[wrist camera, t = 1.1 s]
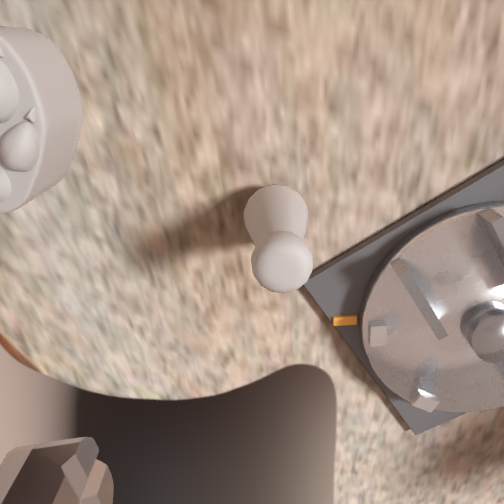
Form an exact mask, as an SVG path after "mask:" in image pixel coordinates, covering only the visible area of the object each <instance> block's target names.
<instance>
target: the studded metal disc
mask: <svg viewBox="0 0 504 504" xmlns="http://www.w3.org/2000/svg"><path fill="white" fill-rule="evenodd" d="M360 334H361V338H362V343H363V346H364V348H365V351H366V354H367V356H368V359H369V361H370V364H371V366H372V368H373V370H374V371H375V373H376V374H377V376H378V377H379V378H380V380H381V381H382V382H383V383H384V384H385V385H386V386H387V387H388V388H389V389H390V390H392V391H393V392H394V393H395V394H397V395H399V396H400V397H402V398H403V399H405V400H407V401H409V402H411V404H412V406H415V407H417V408H420V409H422V410H425V411H428V412H430V413H431V412H432V411H433V410H439V411H446V412H476V411H485V410H490V409H495V408H500V407H503V406H504V201H493V202H486V203H479V204H474V205H470V206H467V207H463V208H459V209H456V210H454V211H451V212H448V213H446V214H443V215H441V216H439V217H437V218H435V219H433V220H431V221H429V222H427V223H426V224H424V225H423V226H421V227H419V228H418V229H416V230H415V231H413V232H412V233H411V234H409V235H408V236H407V237H406V238H404V239H403V240H402V241H401V242H400V243H398V244H397V245H396V246H395V248H394V249H393V250H392V251H391V252H390V253H389V254H388V255H387V256H386V257H385V258H384V260H383V261H382V262H381V264H380V265H379V266H378V268H377V269H376V271H375V273H374V274H373V276H372V278H371V280H370V281H369V284H368V286H367V289H366V291H365V293H364V297H363V301H362V304H361V310H360Z"/></svg>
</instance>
